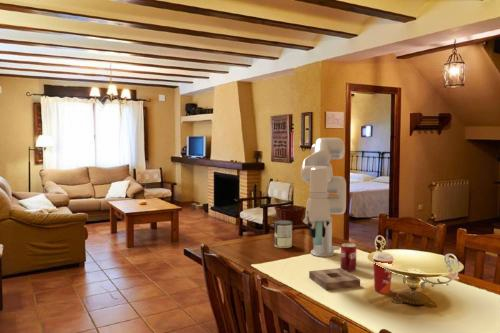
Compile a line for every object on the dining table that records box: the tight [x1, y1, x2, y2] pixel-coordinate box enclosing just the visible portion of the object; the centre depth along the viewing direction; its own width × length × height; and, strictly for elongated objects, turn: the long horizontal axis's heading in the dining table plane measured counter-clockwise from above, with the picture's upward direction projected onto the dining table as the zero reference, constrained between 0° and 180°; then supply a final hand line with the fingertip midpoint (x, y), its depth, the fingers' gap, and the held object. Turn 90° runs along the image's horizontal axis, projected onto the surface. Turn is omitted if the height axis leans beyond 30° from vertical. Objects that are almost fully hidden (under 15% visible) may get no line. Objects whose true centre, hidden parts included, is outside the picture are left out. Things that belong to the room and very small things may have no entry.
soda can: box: [340, 242, 358, 273], centre depth 195 cm, size 7×7×12 cm
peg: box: [312, 222, 323, 246], centre depth 180 cm, size 4×4×10 cm
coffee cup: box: [372, 252, 395, 294], centre depth 168 cm, size 8×8×15 cm
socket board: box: [308, 267, 361, 291], centre depth 178 cm, size 16×16×3 cm
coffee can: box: [274, 219, 293, 249], centre depth 238 cm, size 10×10×14 cm
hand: (317, 236), depth 180 cm, fingers closed on peg, 4 cm apart
